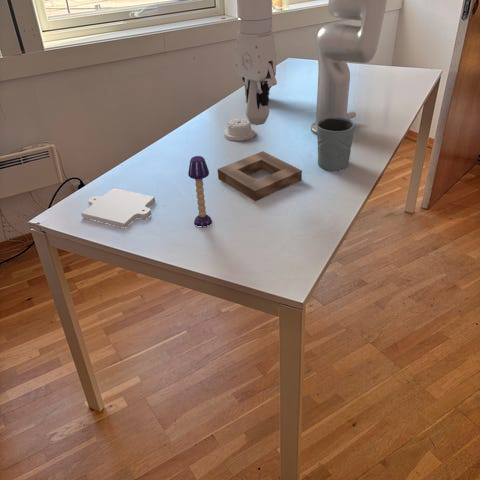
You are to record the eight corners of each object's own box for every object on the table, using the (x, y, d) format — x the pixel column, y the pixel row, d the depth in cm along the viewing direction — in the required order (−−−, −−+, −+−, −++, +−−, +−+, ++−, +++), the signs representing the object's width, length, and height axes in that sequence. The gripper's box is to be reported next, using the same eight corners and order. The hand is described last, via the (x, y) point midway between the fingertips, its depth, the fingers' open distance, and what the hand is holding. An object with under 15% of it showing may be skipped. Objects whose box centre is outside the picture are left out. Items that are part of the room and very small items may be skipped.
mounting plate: (164, 205, 122) (162, 198, 121) (134, 232, 113) (132, 225, 112) (107, 192, 129) (105, 186, 128) (75, 217, 119) (73, 211, 118)
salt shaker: (272, 118, 121) (271, 66, 114) (265, 127, 117) (264, 73, 109) (250, 116, 123) (248, 65, 115) (243, 125, 119) (240, 72, 111)
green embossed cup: (328, 175, 130) (331, 134, 122) (307, 161, 137) (309, 121, 130) (358, 166, 133) (363, 125, 126) (336, 153, 140) (339, 113, 133)
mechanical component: (221, 141, 152) (252, 142, 150) (220, 128, 149) (251, 129, 147) (227, 128, 160) (257, 129, 158) (226, 115, 157) (256, 116, 155)
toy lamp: (194, 217, 116) (186, 154, 106) (213, 215, 116) (207, 152, 106) (194, 228, 112) (186, 164, 102) (214, 226, 112) (208, 162, 103)
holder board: (263, 160, 139) (262, 151, 137) (301, 180, 128) (301, 170, 126) (218, 178, 131) (217, 169, 129) (255, 201, 121) (255, 191, 119)
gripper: (220, 23, 110) (225, 101, 121) (266, 35, 100) (267, 119, 110) (245, 18, 114) (248, 94, 125) (292, 28, 103) (291, 110, 114)
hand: (257, 105), depth 118 cm, fingers closed on salt shaker, 3 cm apart
